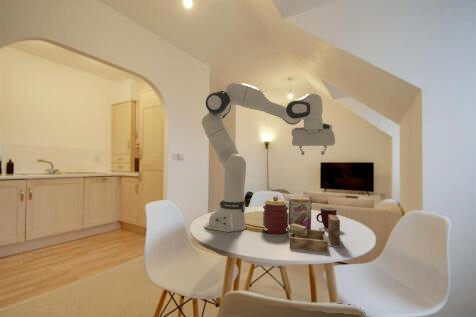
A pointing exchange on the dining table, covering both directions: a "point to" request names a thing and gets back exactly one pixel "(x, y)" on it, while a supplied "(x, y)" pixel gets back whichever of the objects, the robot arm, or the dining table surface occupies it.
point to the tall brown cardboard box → (334, 229)
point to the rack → (310, 241)
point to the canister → (275, 216)
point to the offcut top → (298, 229)
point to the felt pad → (335, 245)
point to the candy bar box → (300, 212)
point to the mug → (326, 215)
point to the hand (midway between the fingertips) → (312, 154)
